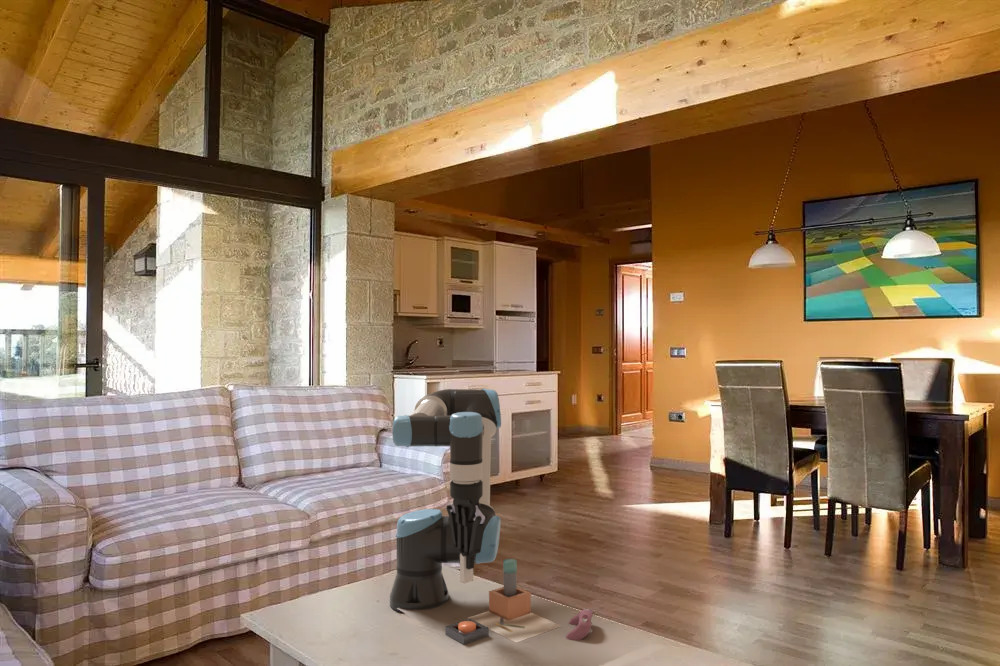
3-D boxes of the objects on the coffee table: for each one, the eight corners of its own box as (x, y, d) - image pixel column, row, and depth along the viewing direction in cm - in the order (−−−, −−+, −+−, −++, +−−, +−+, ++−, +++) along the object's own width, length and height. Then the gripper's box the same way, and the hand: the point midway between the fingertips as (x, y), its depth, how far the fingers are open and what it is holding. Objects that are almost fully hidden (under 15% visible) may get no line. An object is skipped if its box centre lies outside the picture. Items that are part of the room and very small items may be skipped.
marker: (500, 609, 172) (500, 560, 172) (510, 605, 174) (510, 557, 174) (509, 613, 170) (509, 564, 169) (519, 609, 172) (519, 561, 172)
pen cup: (489, 611, 173) (489, 591, 173) (511, 604, 177) (511, 584, 177) (508, 620, 167) (507, 599, 167) (530, 613, 172) (530, 592, 172)
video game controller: (581, 652, 156) (596, 625, 155) (563, 642, 157) (577, 615, 156) (584, 634, 166) (597, 608, 165) (567, 624, 166) (580, 598, 166)
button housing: (445, 639, 159) (445, 626, 159) (470, 631, 164) (470, 618, 164) (463, 650, 154) (463, 636, 154) (488, 641, 158) (488, 628, 158)
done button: (454, 632, 159) (454, 624, 159) (468, 628, 162) (468, 619, 162) (465, 638, 156) (465, 629, 156) (479, 634, 159) (479, 625, 159)
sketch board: (461, 622, 169) (461, 617, 169) (512, 606, 179) (512, 601, 179) (515, 650, 153) (515, 645, 153) (567, 631, 164) (567, 626, 164)
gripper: (496, 482, 159) (497, 585, 160) (462, 472, 169) (463, 569, 170) (470, 488, 155) (470, 594, 155) (436, 477, 165) (437, 576, 165)
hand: (466, 581), depth 163 cm, fingers closed
